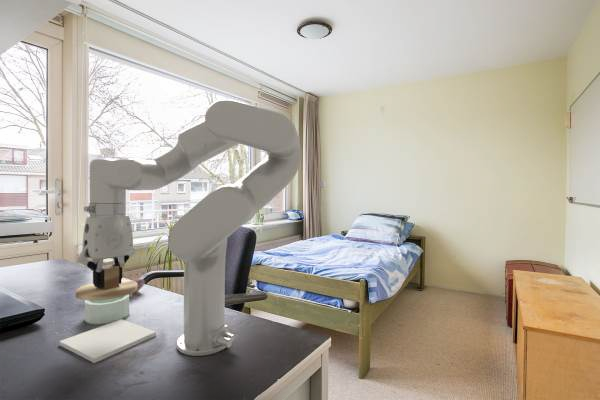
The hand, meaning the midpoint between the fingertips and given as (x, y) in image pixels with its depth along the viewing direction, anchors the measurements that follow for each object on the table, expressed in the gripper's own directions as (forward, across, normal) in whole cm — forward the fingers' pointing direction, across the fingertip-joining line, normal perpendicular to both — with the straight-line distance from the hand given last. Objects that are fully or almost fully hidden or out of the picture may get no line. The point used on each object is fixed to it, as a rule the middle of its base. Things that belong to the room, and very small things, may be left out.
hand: (108, 284), depth 79 cm
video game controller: (+14, +22, +26) cm, 38 cm away
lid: (+2, 0, 0) cm, 2 cm away
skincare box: (+14, +19, +34) cm, 41 cm away
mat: (+14, 0, 0) cm, 14 cm away
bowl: (+14, +8, +15) cm, 22 cm away
